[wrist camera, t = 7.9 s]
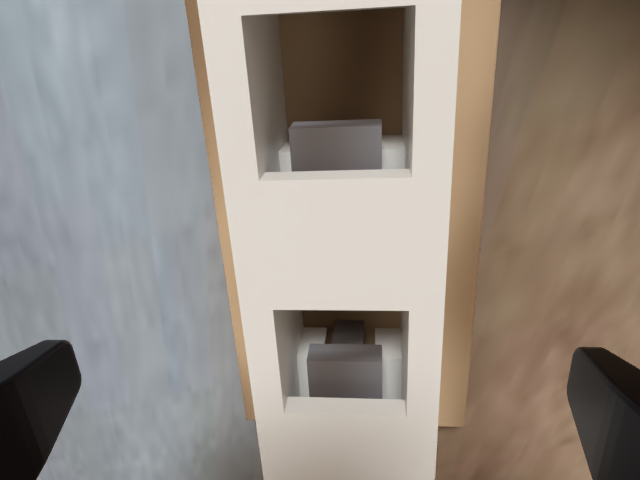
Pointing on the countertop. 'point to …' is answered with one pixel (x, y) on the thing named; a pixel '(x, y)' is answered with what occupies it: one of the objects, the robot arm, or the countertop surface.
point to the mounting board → (375, 91)
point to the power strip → (337, 242)
